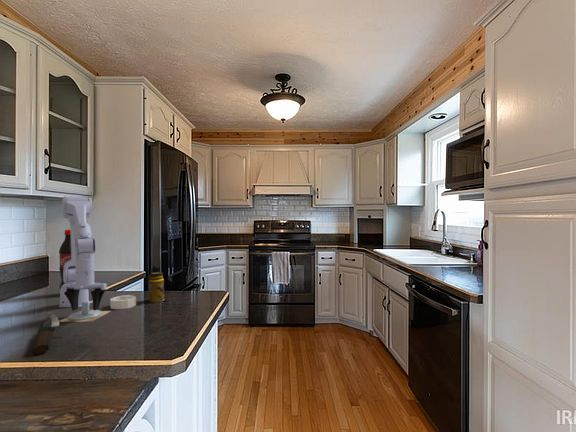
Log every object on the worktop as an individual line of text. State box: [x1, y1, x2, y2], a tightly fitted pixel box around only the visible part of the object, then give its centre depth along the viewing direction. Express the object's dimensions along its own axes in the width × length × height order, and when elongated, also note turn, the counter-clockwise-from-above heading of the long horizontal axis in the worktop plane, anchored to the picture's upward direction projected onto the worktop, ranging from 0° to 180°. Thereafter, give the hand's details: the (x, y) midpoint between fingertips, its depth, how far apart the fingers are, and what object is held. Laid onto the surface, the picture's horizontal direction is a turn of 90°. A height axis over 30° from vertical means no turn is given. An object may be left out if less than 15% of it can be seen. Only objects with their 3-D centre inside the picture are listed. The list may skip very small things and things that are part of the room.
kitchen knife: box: [32, 314, 60, 355], centre depth 103 cm, size 36×2×5 cm
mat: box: [59, 310, 112, 323], centre depth 119 cm, size 12×12×1 cm
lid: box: [69, 302, 103, 320], centre depth 119 cm, size 10×10×5 cm
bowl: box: [109, 294, 137, 310], centre depth 132 cm, size 9×9×4 cm
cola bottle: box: [58, 229, 76, 290], centre depth 155 cm, size 8×8×30 cm
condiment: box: [148, 271, 165, 303], centre depth 140 cm, size 7×8×12 cm
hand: (85, 309), depth 119 cm, fingers open, 7 cm apart
